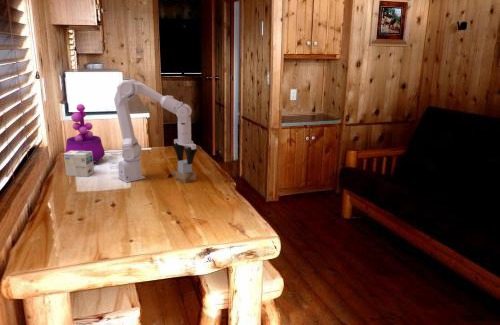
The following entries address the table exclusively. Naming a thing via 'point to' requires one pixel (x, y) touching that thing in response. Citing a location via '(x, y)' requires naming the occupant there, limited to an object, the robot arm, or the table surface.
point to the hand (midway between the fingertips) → (185, 162)
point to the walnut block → (185, 176)
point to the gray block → (184, 167)
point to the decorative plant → (84, 137)
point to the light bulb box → (79, 163)
